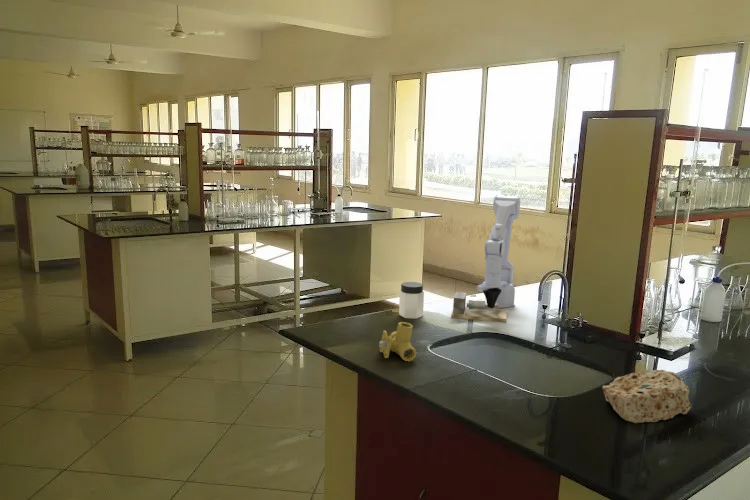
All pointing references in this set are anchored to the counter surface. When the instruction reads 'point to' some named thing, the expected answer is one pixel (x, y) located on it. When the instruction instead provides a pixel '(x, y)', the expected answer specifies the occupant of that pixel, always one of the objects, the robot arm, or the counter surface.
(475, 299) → the grey box
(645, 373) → the rock
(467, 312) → the stand
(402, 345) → the ball valve
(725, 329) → the counter surface
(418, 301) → the jar
